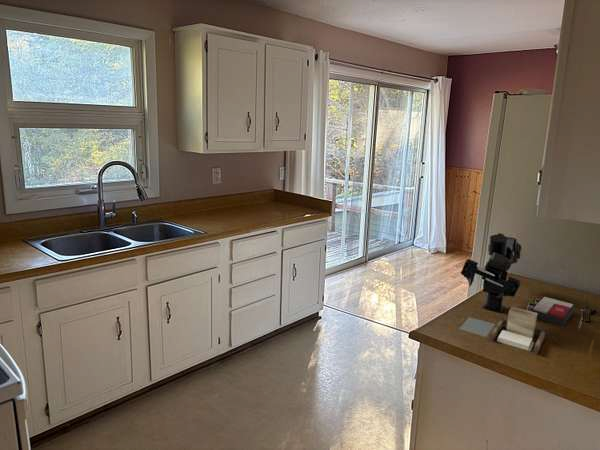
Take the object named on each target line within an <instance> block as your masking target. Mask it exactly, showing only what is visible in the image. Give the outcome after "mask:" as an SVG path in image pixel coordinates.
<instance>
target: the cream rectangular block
mask: <svg viewBox="0 0 600 450" xmlns="http://www.w3.org/2000/svg"><path fill="white" fill-rule="evenodd" d="M537 314H538V313H535V312H531V310H527V309H523V308H518V307H514V306H511V308H509V310H508V315H507V320H508V321H507V327H505V328H506V329H505V331H508V332H511V333H515V334H519V335H522V336H526V337H529V338H533V339H534V337H535V335H534V332H535V327H536V325H537V320H538V318H537Z"/></svg>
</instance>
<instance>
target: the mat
mask: <svg viewBox="0 0 600 450" xmlns="http://www.w3.org/2000/svg"><path fill="white" fill-rule="evenodd" d="M495 327H496V323H492V322H490V321H489V322H488V321H485V320H481V319H477V318H473V317H471V316H469V317H468V318H467V319H466V320H465V321H464V323H463V324H462V325H461V326H460V327H459V330H461V331H464V332H467V333H471V334H474V335H478V336H481V337H485V338H487V337H488V336H489V334H491V332H492V331H493V329H494V328H495Z"/></svg>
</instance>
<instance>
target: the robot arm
mask: <svg viewBox="0 0 600 450" xmlns="http://www.w3.org/2000/svg"><path fill="white" fill-rule="evenodd" d="M487 250H488V255H489V258H488V260H487V262H486V264H485V265H484V268H482V267H479V266H478V264H479V262H476V261H475V260H472V259H470V258H467V259H466V260H465V263H464V265H463V267H462V270H461V272H460V274H461V275H462V276H463V277H464V278H466V280H467V282H468V285H469V287H471V286H472V285H473V282H474V279H475V275H476V274H477V275H478V276H480V278H481V280H483V284H482V285H483V286H482V287H483V288H482V292H483V293H487V294H486V301H485V303H484V304H483V306H482V308H483V309H487V310H491V311H493V312H498V313H501V312H502V311H503V310H504V308H505V305H503V300H504V297H505V298H506V297H515V295H516V294H517V292H518V291H519V288H520V287H521V284H522V283H521V280H519V279H517V278H514V277H512V276H509V272H510V269H511V267H512V264H517V263H518V262H519V260H521V258H522V253H523V251H522V250H523V248H522V245H521V244H520V243H519V242H518V239H517V238H516V237H510V236H507V235H505V234H504V233H501V232H498V233H497V234H492V235H490V236H489V244H488V249H487Z"/></svg>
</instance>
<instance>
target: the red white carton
mask: <svg viewBox="0 0 600 450" xmlns="http://www.w3.org/2000/svg"><path fill="white" fill-rule="evenodd" d="M530 311H531V312H535V313H538V314H537V319H539V320H541V321H542V320H543V321H546V322H550V323H553V324H556V325H559V326H564V325H565V324H566V322H567V321H568V320H569V319H570V317H572V315H573V314H574V311H575V305H574V304H572V303H570V302H566V301H561V300H558V299H554V298H550V297H547V296H543V297H541V299H540V300H539V301H538V302H537V303H536V304H535V306H533V307H532V308H531V310H530Z"/></svg>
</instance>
